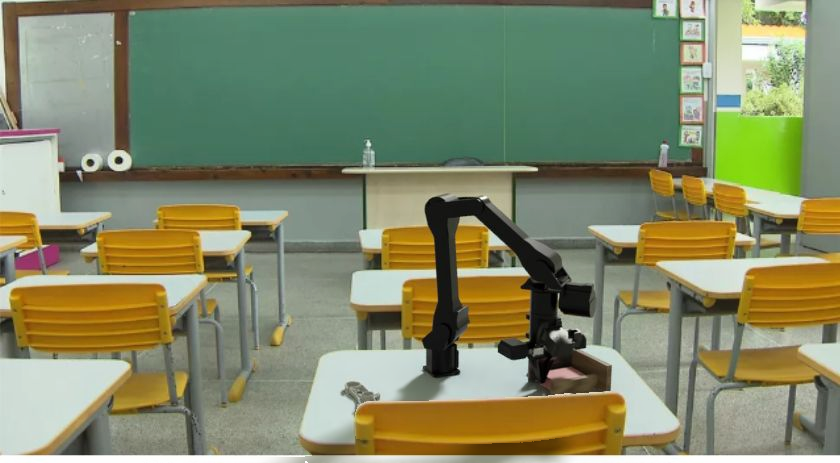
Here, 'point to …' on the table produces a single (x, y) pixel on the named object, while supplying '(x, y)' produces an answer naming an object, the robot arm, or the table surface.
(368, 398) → the bracket
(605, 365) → the shelf
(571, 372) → the block
